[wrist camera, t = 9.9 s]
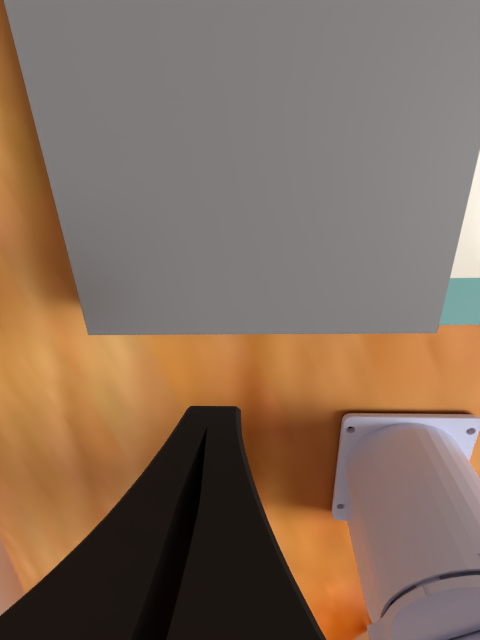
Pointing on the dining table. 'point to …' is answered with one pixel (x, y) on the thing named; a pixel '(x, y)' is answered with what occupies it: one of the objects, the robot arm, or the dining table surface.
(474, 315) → the mat
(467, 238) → the tile
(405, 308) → the block
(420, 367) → the dining table surface
